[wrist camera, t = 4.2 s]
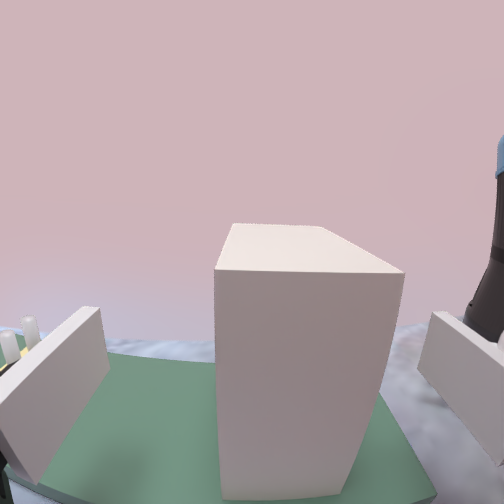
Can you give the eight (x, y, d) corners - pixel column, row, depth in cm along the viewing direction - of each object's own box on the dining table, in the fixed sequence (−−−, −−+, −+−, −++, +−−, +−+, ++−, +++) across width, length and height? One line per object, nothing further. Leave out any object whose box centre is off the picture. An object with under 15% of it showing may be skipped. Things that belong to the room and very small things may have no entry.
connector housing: (305, 375, 19) (320, 226, 17) (339, 494, 9) (405, 273, 7) (231, 375, 19) (233, 223, 17) (221, 499, 9) (214, 269, 7)
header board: (356, 377, 21) (369, 312, 20) (424, 509, 8) (476, 435, 7) (13, 346, 20) (0, 290, 19) (-72, 421, 8) (-104, 350, 7)
